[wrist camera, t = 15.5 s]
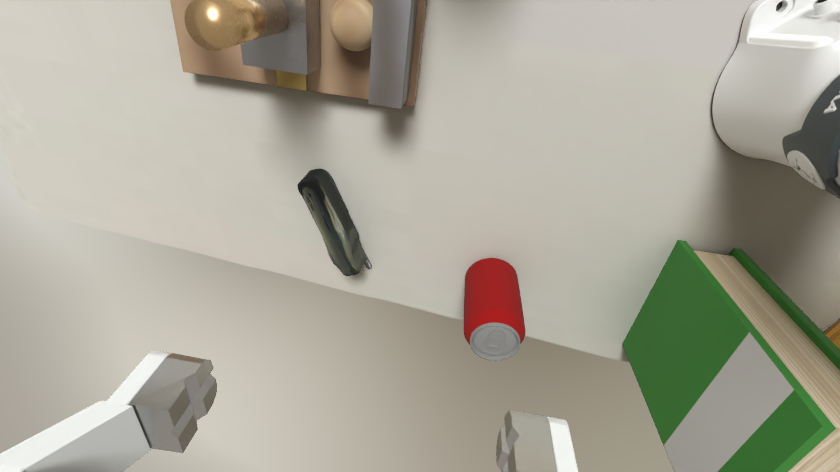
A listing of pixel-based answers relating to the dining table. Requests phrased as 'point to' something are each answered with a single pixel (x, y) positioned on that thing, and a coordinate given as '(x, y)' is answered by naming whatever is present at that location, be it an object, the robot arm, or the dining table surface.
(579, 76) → the dining table surface
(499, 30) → the dining table surface
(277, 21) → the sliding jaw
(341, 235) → the mobile phone
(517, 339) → the beverage can
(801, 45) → the robot arm
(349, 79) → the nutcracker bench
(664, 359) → the hardback book
